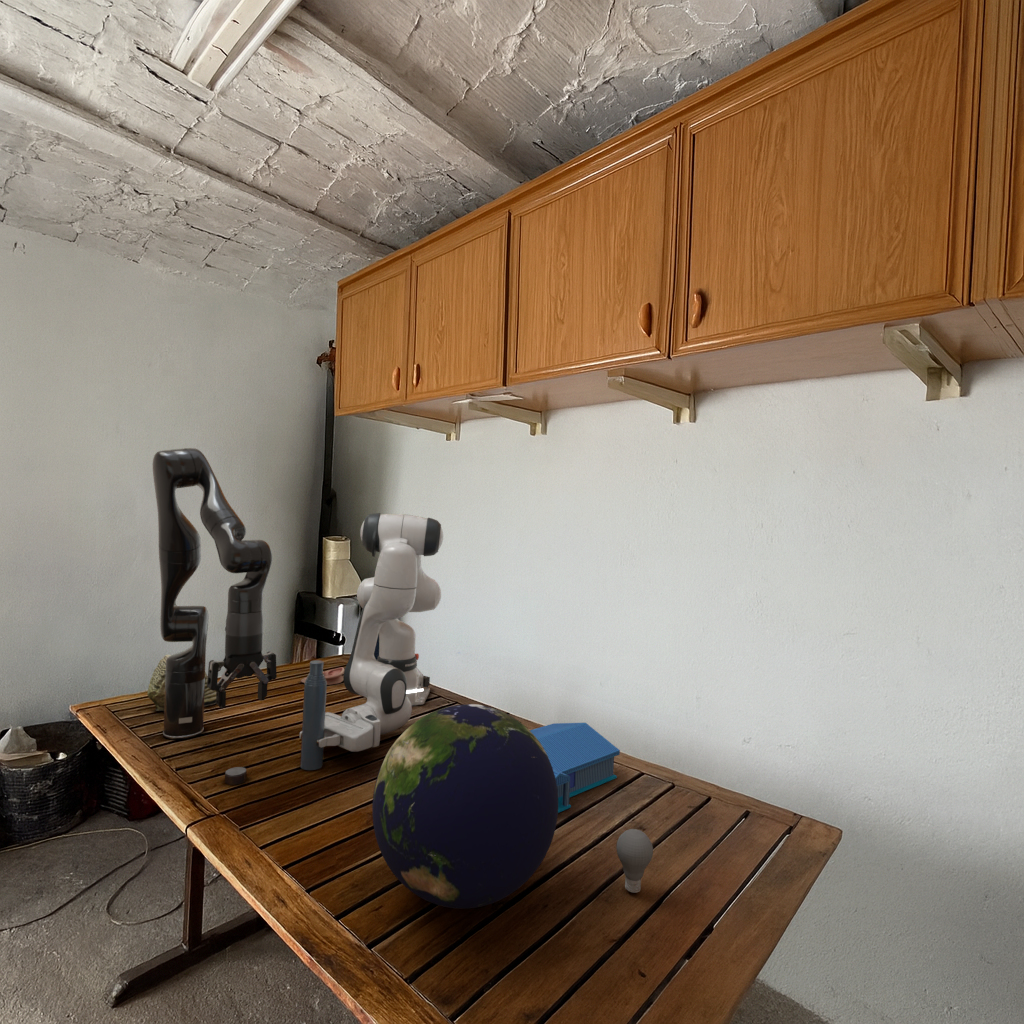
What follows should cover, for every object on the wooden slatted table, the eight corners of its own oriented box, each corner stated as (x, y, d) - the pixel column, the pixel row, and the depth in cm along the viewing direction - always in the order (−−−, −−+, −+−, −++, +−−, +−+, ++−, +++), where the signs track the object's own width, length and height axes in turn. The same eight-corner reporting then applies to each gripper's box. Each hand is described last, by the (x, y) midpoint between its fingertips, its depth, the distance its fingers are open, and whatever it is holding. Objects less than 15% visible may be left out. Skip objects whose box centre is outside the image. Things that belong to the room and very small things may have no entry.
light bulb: (610, 879, 108) (613, 822, 108) (644, 879, 109) (647, 822, 109) (619, 902, 102) (622, 840, 102) (655, 901, 103) (658, 840, 103)
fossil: (144, 707, 182) (145, 655, 182) (212, 696, 194) (213, 647, 194) (151, 716, 175) (153, 662, 175) (221, 703, 188) (223, 653, 188)
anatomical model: (296, 671, 211) (313, 663, 222) (295, 683, 211) (313, 674, 222) (332, 675, 208) (348, 666, 219) (332, 687, 208) (348, 678, 219)
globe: (328, 919, 95) (336, 721, 95) (427, 827, 123) (434, 674, 122) (512, 985, 84) (522, 760, 83) (576, 867, 112) (584, 698, 111)
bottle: (299, 771, 145) (305, 664, 145) (300, 762, 150) (305, 659, 150) (322, 769, 147) (328, 664, 147) (322, 761, 152) (327, 659, 151)
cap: (243, 784, 138) (244, 774, 138) (222, 785, 137) (222, 775, 137) (248, 776, 142) (248, 766, 142) (227, 776, 141) (228, 767, 141)
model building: (501, 837, 120) (504, 785, 120) (427, 790, 139) (429, 744, 138) (628, 782, 147) (630, 739, 147) (552, 748, 165) (553, 710, 165)
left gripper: (216, 638, 131) (214, 715, 132) (283, 630, 141) (280, 701, 142) (204, 631, 137) (201, 705, 137) (268, 623, 147) (266, 692, 147)
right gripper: (331, 702, 165) (284, 715, 154) (384, 722, 153) (337, 737, 142) (330, 726, 165) (283, 741, 154) (383, 747, 153) (336, 765, 142)
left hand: (242, 703), depth 140 cm, fingers open, 8 cm apart
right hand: (309, 739), depth 148 cm, fingers closed on bottle, 5 cm apart
